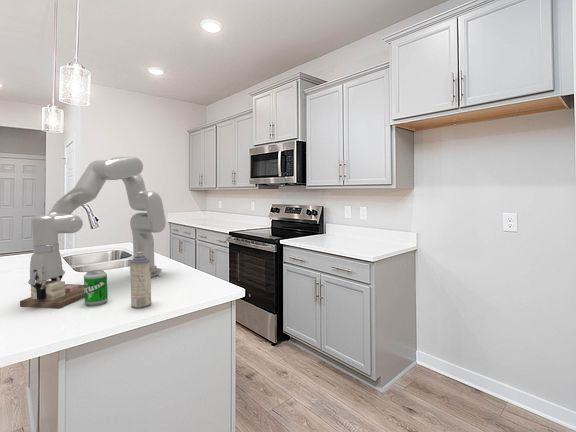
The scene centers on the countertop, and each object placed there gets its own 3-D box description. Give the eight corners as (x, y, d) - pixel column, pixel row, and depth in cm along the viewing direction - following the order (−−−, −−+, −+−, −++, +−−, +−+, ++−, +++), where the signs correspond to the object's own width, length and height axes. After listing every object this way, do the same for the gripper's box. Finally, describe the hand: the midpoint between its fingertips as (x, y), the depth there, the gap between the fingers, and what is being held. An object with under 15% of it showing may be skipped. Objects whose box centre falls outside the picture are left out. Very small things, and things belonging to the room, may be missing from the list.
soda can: (91, 300, 127) (90, 269, 126) (111, 299, 128) (110, 269, 127) (80, 306, 120) (79, 274, 119) (102, 306, 120) (100, 274, 119)
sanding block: (65, 296, 125) (64, 281, 124) (53, 301, 119) (52, 285, 119) (44, 295, 126) (43, 280, 125) (31, 300, 120) (30, 284, 120)
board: (101, 290, 140) (101, 285, 139) (59, 308, 118) (59, 303, 118) (67, 288, 141) (66, 284, 141) (20, 306, 120) (19, 301, 119)
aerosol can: (154, 304, 122) (153, 252, 121) (137, 309, 117) (135, 254, 115) (145, 300, 126) (143, 249, 125) (127, 305, 121) (125, 252, 119)
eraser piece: (77, 289, 134) (77, 285, 134) (70, 292, 130) (70, 288, 130) (68, 288, 135) (68, 285, 134) (61, 291, 131) (60, 288, 131)
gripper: (55, 244, 130) (58, 289, 131) (15, 252, 113) (18, 304, 114) (73, 245, 129) (75, 290, 130) (35, 253, 112) (37, 305, 113)
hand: (48, 296), depth 122 cm, fingers closed on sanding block, 5 cm apart
